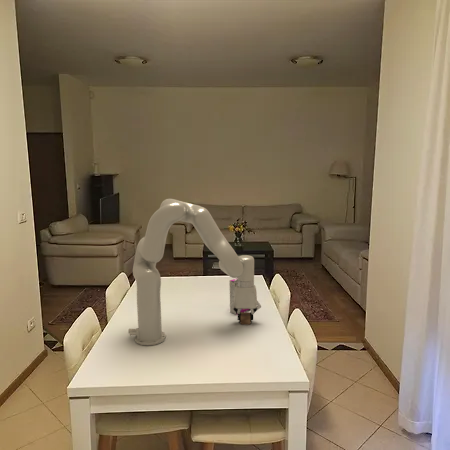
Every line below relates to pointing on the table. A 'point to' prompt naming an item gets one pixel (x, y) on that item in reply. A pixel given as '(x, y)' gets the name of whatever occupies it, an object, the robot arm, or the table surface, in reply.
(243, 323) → the walnut block
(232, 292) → the candy bar box
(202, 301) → the table surface
